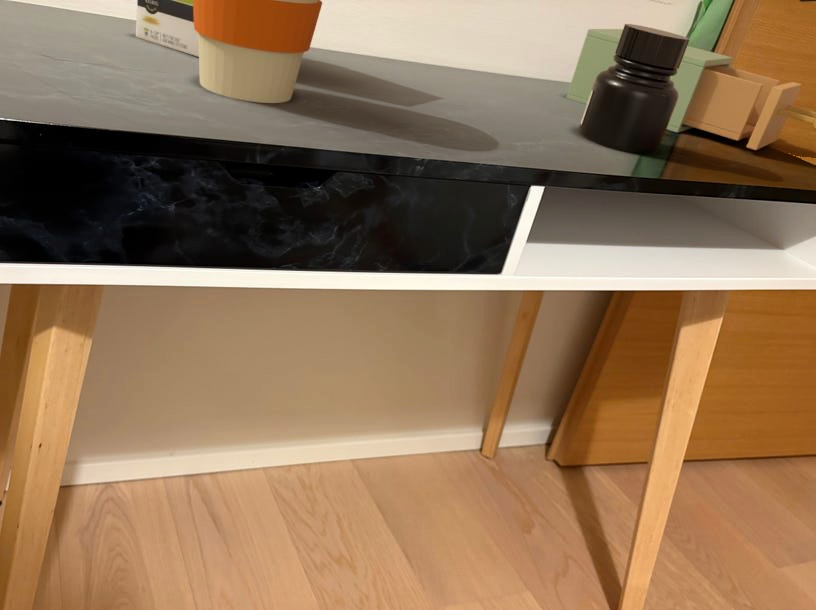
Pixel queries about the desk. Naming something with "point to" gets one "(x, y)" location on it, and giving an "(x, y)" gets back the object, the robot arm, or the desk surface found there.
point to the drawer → (744, 105)
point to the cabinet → (600, 58)
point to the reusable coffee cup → (253, 46)
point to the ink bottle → (635, 92)
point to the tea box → (168, 24)
